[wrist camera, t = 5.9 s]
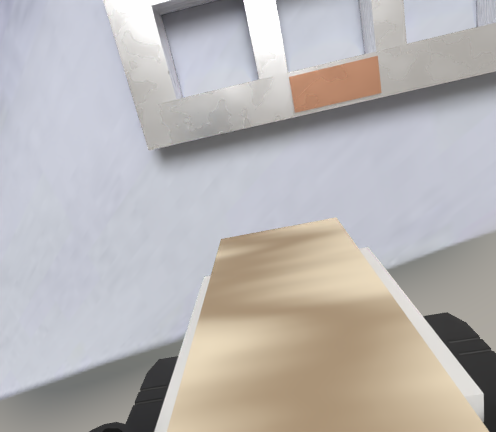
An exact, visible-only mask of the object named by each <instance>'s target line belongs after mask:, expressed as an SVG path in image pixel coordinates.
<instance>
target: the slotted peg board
mask: <svg viewBox="0 0 496 432" xmlns="http://www.w3.org/2000/svg"><path fill="white" fill-rule="evenodd" d="M212 1H216V0H103V2H104V5H105V8H106V12H107V15H108V18H109V21H110V25H111V28H112V31H113V35H114V38H115V41H116V44H117V48H118V51H119V54H120V58H121V61H122V64H123V67H124V71H125V74H126V77H127V81H128V84H129V87H130V90H131V94H132V97H133V100H134V104H135V107H136V110H137V113H138V117H139V120H140V123H141V127H142V130H143V133H144V136H145V140H146V143H147V146H148V150H153V149H158V148H162V147H167V146H171V145H175V144H180V143H184V142H188V141H193V140H197V139H202V138H206V137H210V136H215V135H219V134H224V133H228V132H232V131H237V130H241V129H245V128H250V127H254V126H259V125H263V124H267V123H272V122H276V121H281V120H285V119H289V118H294V117H298V116H302V115H307V114H311V113H316V112H320V111H324V110H329V109H333V108H338V107H342V106H346V105H351V104H355V103H359V102H364V101H368V100H373V99H377V98H381V97H386V96H390V95H395V94H399V93H403V92H408V91H412V90H416V89H421V88H425V87H430V86H434V85H438V84H443V83H447V82H452V81H456V80H460V79H465V78H469V77H473V76H478V75H482V74H487V73H491V72H495V71H496V0H477V27H475V28H471V29H467V30H463V31H459V32H455V33H451V34H446V35H442V36H438V37H434V38H430V39H426V40H421V41H417V42H413V43H409V44H407V41H406V28H405V16H404V3H403V0H359V6H360V14H361V23H362V32H363V41H364V50H365V54H363V55H359V56H355V57H351V58H347V59H342V60H338V61H334V62H330V63H326V64H322V65H317V66H313V67H309V68H305V69H301V70H297V71H293V72H288V70H287V64H286V58H285V53H284V47H283V41H282V36H281V30H280V24H279V18H278V13H277V7H276V1H275V0H243V3H244V8H245V13H246V18H247V23H248V28H249V33H250V38H251V43H252V48H253V53H254V58H255V63H256V68H257V73H258V78H259V80H255V81H251V82H247V83H243V84H238V85H234V86H230V87H226V88H222V89H218V90H214V91H209V92H205V93H201V94H197V95H193V96H189V97H184V98H183V96H182V92H181V88H180V85H179V81H178V77H177V73H176V69H175V66H174V62H173V58H172V54H171V50H170V47H169V43H168V39H167V35H166V31H165V28H164V24H163V20H162V16H161V15H163V14H167V13H171V12H175V11H179V10H182V9H186V8H190V7H194V6H197V5H201V4H205V3H209V2H212Z"/></svg>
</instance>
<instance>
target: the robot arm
mask: <svg viewBox="0 0 496 432" xmlns="http://www.w3.org/2000/svg"><path fill="white" fill-rule="evenodd" d="M359 250H360V251H361V253H362V254H363V256H364V257H365V258H366V260H367V261H368V263H369V264H370V265H371V267H372V268H373V270H374V271H375V272H376V274H377V275H378V277H379V278H380V279H381V281H382V282H383V284H384V285H385V286H386V288H387V289H388V291H389V292H390V293H391V295H392V296H393V298H394V299H395V300H396V302H397V303H398V305H399V306H400V307H401V309H402V310H403V312H404V313H405V314H406V316H407V317H408V319H409V320H410V321H411V323H412V324H413V326H414V327H415V328H416V330H417V331H418V333H419V334H420V335H421V337H422V338H423V340H424V341H425V342H426V344H427V345H428V347H429V348H430V349H431V351H432V352H433V354H434V355H435V356H436V358H437V359H438V361H439V362H440V363H441V365H442V366H443V368H444V369H445V370H446V372H447V373H448V375H449V376H450V377H451V379H452V380H453V382H454V383H455V384H456V386H457V387H458V389H459V390H460V391H461V393H462V394H463V396H464V397H465V398H466V400H467V401H468V403H469V404H470V405H471V407H472V408H473V410H474V411H475V412H476V414H477V415H478V417H479V418H480V419H481V421H482V422H483V424H484V425H485V426H486V428H487V429H488V431H489V432H496V353H495V352H494V351H491V348H490V347H489V346H488V345H487V344H486V343H485V342H484V341H483V340H482V339H480V337H479V335H478V334H477V333H476V332H475V331H473V329H472V328H471V327H470V326H469V325H468V324H467V323H466V322H464V321H462V320H460V319H458V318H457V317H455V316H453V315H451V314H449V313H440V314H434V315H428V316H422V315H421V314H420V312H419V311H418V310H417V309H416V307H415V306H414V305H413V303H412V302H411V301H410V300H409V298H408V297H407V296H406V294H405V293H404V292H403V291H402V289H401V288H400V287H399V286H398V284H397V283H396V282H395V281H394V279H393V278H392V277H391V276H390V274H389V273H388V272H387V270H386V269H385V268H384V267H383V265H382V264H381V263H380V261H379V260H378V259H377V258H376V256H375V255H374V254H373V253H372V251H371V250H370V249H369V247H366V248H360V249H359ZM210 277H211V275H209V276H204V278H203V281H202V285H201V288H200V291H199V294H198V297H197V300H196V303H195V306H194V309H193V313H192V316H191V319H190V322H189V325H188V328H187V331H186V334H185V337H184V341H183V344H182V347H181V350H180V353H179V356H177V357H171V358H165V359H159V360H158V361H157V362H156V363H155V365H154V366H153V367H152V368H151V369H150V370H149V371H148V373H147V374H146V377H145V379H144V382H143V384H142V386H141V389H140V390H141V391H140V392H139V393H138V396H137V398H136V400H135V405H134V406H133V407H132V410H131V412H130V415H129V417H128V419H127V422H126V424H122V423H118V422H114V423H109V424H104V425H102V426H100V427H98V428H95V429H93V430H91V431H90V432H167V429H168V426H169V422H170V419H171V415H172V412H173V408H174V404H175V401H176V397H177V394H178V390H179V387H180V383H181V380H182V376H183V373H184V369H185V365H186V362H187V358H188V355H189V351H190V348H191V344H192V341H193V337H194V334H195V330H196V326H197V323H198V319H199V316H200V312H201V309H202V305H203V302H204V298H205V295H206V291H207V287H208V284H209V280H210Z"/></svg>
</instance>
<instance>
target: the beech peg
mask: <svg viewBox="0 0 496 432" xmlns="http://www.w3.org/2000/svg"><path fill="white" fill-rule="evenodd" d="M167 432H489V431H488V429H487V428H486V426H485V425H484V424H483V422H482V421H481V419H480V418H479V417H478V415H477V414H476V412H475V411H474V410H473V408H472V407H471V405H470V404H469V403H468V401H467V400H466V398H465V397H464V396H463V394H462V393H461V391H460V390H459V389H458V387H457V386H456V384H455V383H454V382H453V380H452V379H451V377H450V376H449V375H448V373H447V372H446V370H445V369H444V368H443V366H442V365H441V363H440V362H439V361H438V359H437V358H436V356H435V355H434V354H433V352H432V351H431V349H430V348H429V347H428V345H427V344H426V342H425V341H424V340H423V338H422V337H421V335H420V334H419V333H418V331H417V330H416V328H415V327H414V326H413V324H412V323H411V321H410V320H409V319H408V317H407V316H406V314H405V313H404V312H403V310H402V309H401V307H400V306H399V305H398V303H397V302H396V300H395V299H394V298H393V296H392V295H391V293H390V292H389V291H388V289H387V288H386V286H385V285H384V284H383V282H382V281H381V279H380V278H379V277H378V275H377V274H376V272H375V271H374V270H373V268H372V267H371V265H370V264H369V263H368V261H367V260H366V258H365V257H364V256H363V254H362V253H361V251H360V250H359V249H358V247H357V246H356V244H355V243H354V242H353V240H352V239H351V237H350V236H349V235H348V233H347V232H346V230H345V229H344V228H343V226H342V225H341V223H340V222H339V221H338V219H337V218H331V219H326V220H320V221H315V222H310V223H304V224H299V225H294V226H288V227H283V228H278V229H272V230H267V231H262V232H256V233H251V234H246V235H241V236H235V237H230V238H225V239H221V241H220V245H219V248H218V252H217V256H216V259H215V263H214V266H213V270H212V273H211V277H210V280H209V284H208V287H207V291H206V295H205V298H204V302H203V305H202V309H201V312H200V316H199V319H198V323H197V326H196V330H195V334H194V337H193V341H192V344H191V348H190V351H189V355H188V358H187V362H186V365H185V369H184V373H183V376H182V380H181V383H180V387H179V390H178V394H177V397H176V401H175V404H174V408H173V412H172V415H171V419H170V422H169V426H168V429H167Z"/></svg>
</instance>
